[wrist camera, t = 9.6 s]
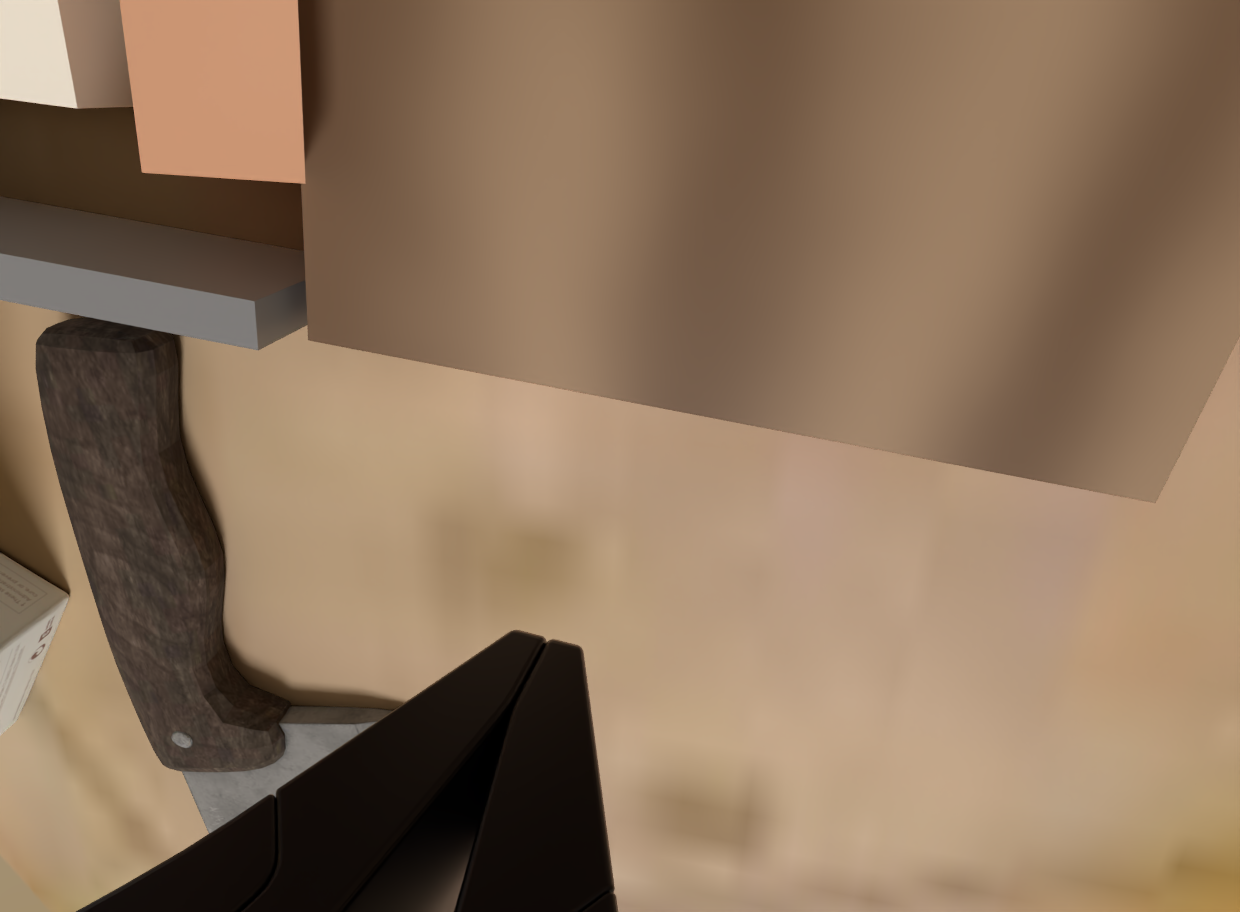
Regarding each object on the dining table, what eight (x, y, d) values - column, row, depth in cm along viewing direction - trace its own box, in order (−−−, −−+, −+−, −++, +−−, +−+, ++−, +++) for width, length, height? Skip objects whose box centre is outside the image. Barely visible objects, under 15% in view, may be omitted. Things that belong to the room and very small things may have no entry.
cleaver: (8, 317, 22) (-64, 340, 20) (331, 291, 20) (285, 314, 18) (307, 986, 34) (280, 1040, 32) (525, 1012, 32) (509, 1070, 30)
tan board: (1408, -258, 12) (1587, -355, 10) (1097, 439, 18) (1155, 502, 15) (368, -359, 14) (271, -465, 11) (373, 304, 19) (308, 340, 17)
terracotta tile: (290, -166, 12) (91, -213, 11) (305, 183, 14) (141, 172, 13) (274, -123, 16) (129, -154, 15) (288, 144, 18) (162, 133, 17)
